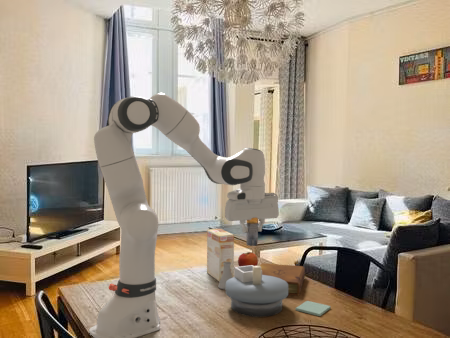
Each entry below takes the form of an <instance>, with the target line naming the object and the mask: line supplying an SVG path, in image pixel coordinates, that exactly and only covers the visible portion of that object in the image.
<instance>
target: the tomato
mask: <svg viewBox="0 0 450 338" xmlns="http://www.w3.org/2000/svg"><path fill="white" fill-rule="evenodd" d="M258 259H259V258H258V256H257V255H256V254H255V253H254V252H252V251H251V252H250V251H247V252H243V253H241V254H240V255H239V257H238V260H237V265H238V267H241V266H249V265H253V266H258V262H259V260H258Z"/></svg>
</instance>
